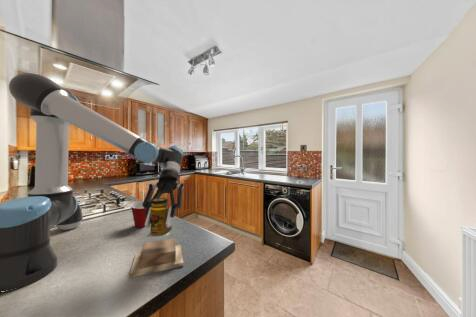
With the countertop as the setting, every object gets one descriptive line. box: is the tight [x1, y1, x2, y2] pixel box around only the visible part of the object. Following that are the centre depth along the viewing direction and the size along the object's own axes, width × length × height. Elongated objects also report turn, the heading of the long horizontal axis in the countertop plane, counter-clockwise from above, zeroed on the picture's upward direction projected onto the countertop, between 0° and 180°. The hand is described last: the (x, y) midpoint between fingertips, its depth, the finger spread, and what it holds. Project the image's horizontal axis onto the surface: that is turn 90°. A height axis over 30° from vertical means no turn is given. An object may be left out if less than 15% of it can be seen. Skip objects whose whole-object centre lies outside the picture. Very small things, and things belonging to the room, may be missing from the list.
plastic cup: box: [129, 201, 147, 228], centre depth 93 cm, size 11×11×12 cm
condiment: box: [146, 197, 174, 238], centre depth 62 cm, size 7×8×12 cm
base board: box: [129, 237, 184, 278], centre depth 62 cm, size 16×13×5 cm
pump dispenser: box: [55, 203, 84, 231], centre depth 88 cm, size 10×10×15 cm
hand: (157, 226), depth 58 cm, fingers closed on condiment, 6 cm apart
